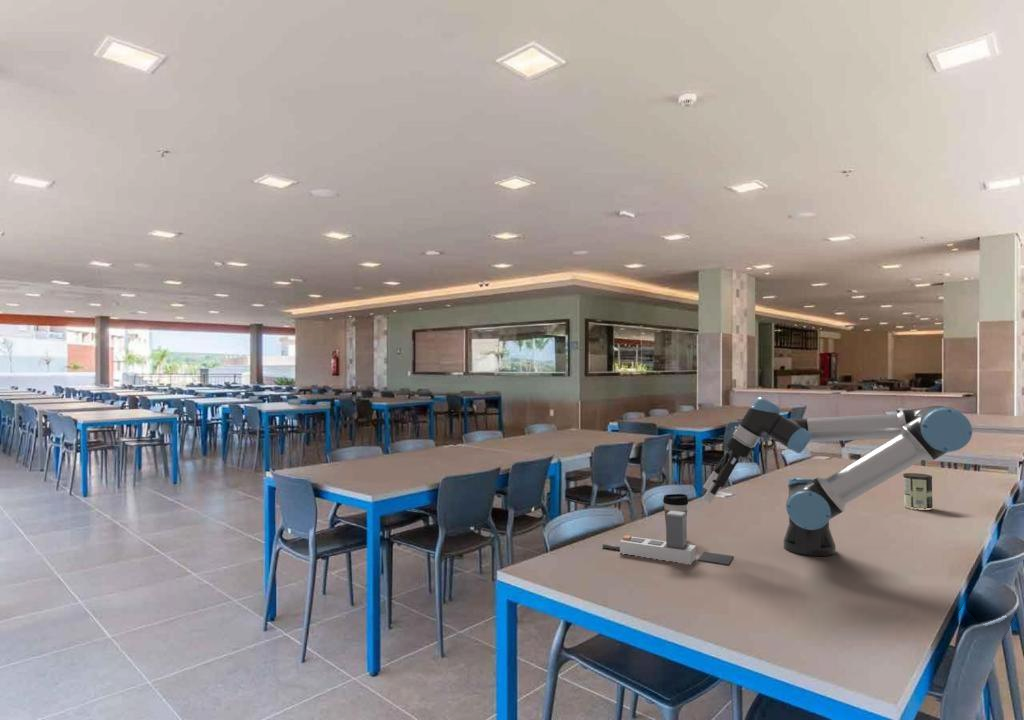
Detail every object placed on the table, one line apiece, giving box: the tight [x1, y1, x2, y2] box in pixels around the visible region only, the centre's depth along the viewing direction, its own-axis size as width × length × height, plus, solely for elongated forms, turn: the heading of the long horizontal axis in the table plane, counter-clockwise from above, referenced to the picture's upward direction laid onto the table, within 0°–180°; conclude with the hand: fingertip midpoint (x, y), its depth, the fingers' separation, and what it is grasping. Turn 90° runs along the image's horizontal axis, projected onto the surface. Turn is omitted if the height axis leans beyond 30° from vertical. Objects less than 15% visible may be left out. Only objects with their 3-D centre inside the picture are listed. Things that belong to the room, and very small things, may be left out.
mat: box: [697, 551, 735, 566], centre depth 182 cm, size 9×9×1 cm
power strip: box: [602, 534, 697, 566], centre depth 186 cm, size 29×7×5 cm, turn 60°
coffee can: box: [902, 472, 933, 509], centre depth 251 cm, size 10×10×14 cm
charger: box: [665, 511, 688, 549], centre depth 182 cm, size 5×5×10 cm
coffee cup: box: [662, 493, 689, 522], centre depth 205 cm, size 8×8×15 cm
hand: (706, 494), depth 193 cm, fingers open, 13 cm apart
